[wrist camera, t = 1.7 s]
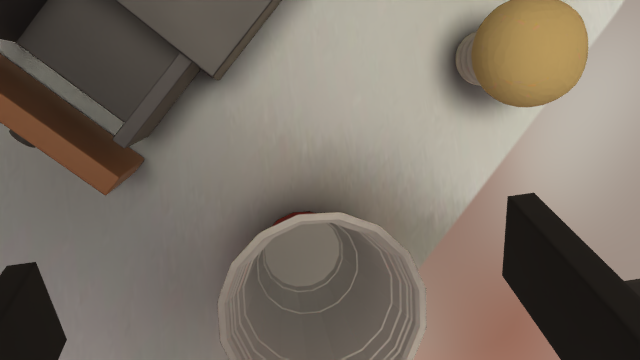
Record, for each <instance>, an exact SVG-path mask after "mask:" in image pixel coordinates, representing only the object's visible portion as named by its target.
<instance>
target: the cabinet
mask: <svg viewBox="0 0 640 360" xmlns="http://www.w3.org/2000/svg"><path fill="white" fill-rule="evenodd" d="M115 1H116V2H117V3H119V4H120V5H121V6H122V7H124V8H125V9H126V10H127V11H129V12H130V13H131V14H133V15H134V16H135V17H136V18H138V19H139V20H140V21H141V22H143V23H144V24H145V25H146V26H148V27H149V28H150V29H151V30H153V31H154V32H155V33H156V34H158V35H159V36H160V37H162V38H163V39H164V40H165V41H167V42H168V43H169V44H170V45H172V46H173V47H174V48H175V49H177V50H178V51H179V52H180V53H182V54H183V55H184V56H185V57H187V58H188V59H189V60H190V61H192V62H193V63H194V64H196V65H197V66H198V67H199V68H201V69H202V70H203V71H204V72H206V73H207V74H208V75H209V76H211V77H212V78H214V79H216V80H220V79H221V78H222V76H223V75H224V74H225V72H226V71H227V70H228V69H229V67H230V66H231V65H232V63H233V62H234V61H235V60H236V58H237V57H238V56H239V55H240V53H241V52H242V51H243V49H244V48H245V47H246V46H247V44H248V43H249V42H250V40H251V39H252V38H253V37H254V35H255V34H256V33H257V32H258V30H259V29H260V28H261V26H262V25H263V24H264V23H265V21H266V20H267V19H268V17H269V16H270V15H271V14H272V12H273V11H274V10H275V9H276V7H277V6H278V5H279V3H280V2H281V1H282V0H115Z"/></svg>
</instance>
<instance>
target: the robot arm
mask: <svg viewBox="0 0 640 360" xmlns="http://www.w3.org/2000/svg"><path fill="white" fill-rule="evenodd" d="M502 272H503V273H502V276H503V277H504V279H505V280H506V281H507V283H508V284H509V286H510V287H511V289H512V290H513V291H514V293H515V294H516V296H517V297H518V299H519V300H520V302H521V303H522V304H523V306H524V307H525V309H526V310H527V312H528V313H529V314H530V316H531V317H532V319H533V320H534V322H535V323H536V324H537V326H538V327H539V329H540V330H541V332H542V333H543V335H544V336H545V337H546V339H547V340H548V342H549V343H550V345H551V346H552V347H553V349H554V350H555V352H556V353H557V355H558V356H559V358H560V359H561V360H640V279H635V280H629V281H623V280H622V279H621V278H620V277H619V276H618V275H617V274H616V273H615V272H614V271H613V270H612V269H611V268H610V267H609V266H608V265H607V264H606V263H605V262H604V261H603V260H602V259H601V258H600V257H599V256H598V255H597V254H596V253H595V252H594V251H593V250H592V249H591V248H590V247H588V245H586V244H585V243H584V242H583V241H582V240H581V239H580V238H579V237H578V236H577V235H576V234H575V233H574V232H573V231H572V230H571V229H570V228H569V227H568V226H567V225H566V224H565V223H564V222H563V221H562V220H561V219H560V218H559V217H558V216H557V215H556V214H555V213H554V212H553V211H552V210H551V209H550V208H549V207H548V206H547V205H545V203H544V202H543V201H542V200H541V199H540V198H539V197H538V196H537V195H535V193H530V194H522V195H515V196H508V201H507V215H506V229H505V243H504V258H503V271H502ZM66 340H67V339H66V336H65V334H64V331H63V329H62V326H61V324H60V321H59V319H58V316H57V314H56V311H55V309H54V306H53V304H52V301H51V299H50V296H49V294H48V291H47V289H46V286H45V284H44V281H43V279H42V276H41V274H40V271H39V269H38V266H37V264H36V262H32V263H25V264H18V265H11V266H6V268H5V269H4V271H3V272H2V274H1V275H0V360H58V358H59V356H60V354H61V352H62V349H63V347H64V345H65V342H66Z"/></svg>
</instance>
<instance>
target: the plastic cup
mask: <svg viewBox="0 0 640 360" xmlns="http://www.w3.org/2000/svg"><path fill="white" fill-rule="evenodd" d="M217 306H218V319H219V333H220V343H221V344H222V346H223V348H224V350H225V352H226V354H227V356H228V358H229V359H230V360H413V359H414V357H415V354H416V352H417V349H418V347H419V344H420V342H421V339H422V337H423V335H424V332H425V330H426V288H425V286H424V283H423V281H422V279H421V277H420V274H419V272H418V270H417V268H416V266H415V263H414V261H413V259H412V257H411V254H410V253H409V252H408V251H407V250H406V249H405V248H404V247H403V246H402V245H401V244H399V243H398V242H397V241H396V240H395V239H394V238H393V237H392V236H391V235H389V234H388V233H387V232H386V231H385V230H384V229H383V228H382V227H381V226H379V225H376V224H373V223H370V222H367V221H364V220H362V219H359V218H356V217H353V216H350V215H347V214H344V213H341V212H335V213H313V212H310V211H309V212H295V213H291V214H289V215H287V216H285V217H283V218H281V219H279V220H277V221H276V222H275V223H274V225H273V226H272V227H271V228H268V229H266V230H264V231H262V232H260V233H259V234H258V235H257V236H256V237H255V238H254V239H253V240H252V241H251V242H250V243H249V245H248V246H247V247H246V248H245V249H244V250H243V251H242V252H241V253H240V254H239V255H238V257H237V258H236V259H235V260H234V261H233V262H232V263H231V265H230V268H229V270H228V273H227V276H226V279H225V282H224V285H223V287H222V290H221V293H220V296H219V299H218V302H217Z"/></svg>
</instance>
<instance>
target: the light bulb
mask: <svg viewBox="0 0 640 360" xmlns="http://www.w3.org/2000/svg"><path fill="white" fill-rule="evenodd" d="M587 56H588V36H587V31H586V28H585V25H584V22H583V20H582V18H581V16H580V15H579V14H578V12H577V11H575V10H574V9H573V8H572V7H571V6H569V5H568V4H566V3H564V2H562V1H560V0H510V1H508V2H506V3H504V4H502V5H500V6H499V7H497V8H496V9H495V10H493V11H492V12H491V13H490V14H489V15H488V16H487V17H486V18H485V20H484V21H483V23H482V24H481V25H480V27H479V29H478V31H477V32H474V33H472V34H470V35H468V36H467V37H465V38H464V39H463V41H462V42H461V44H460V45H459V47H458V49H457V52H456V66H457V70H458V72H459V74H460V75H461V76H462V78H463V79H465V80H466V81H467V82H469V83H471V84H474V85H481V86H482V88H483V89H484V90H485V91H486V92H487V93H488V94H489V95H490V96H492V97H493V98H494V99H496V100H498V101H500V102H502V103H504V104H507V105H512V106H516V107H534V106H539V105H544V104H546V103H549V102H552V101H554V100H556V99H558V98H560V97H561V96H563V95H564V94H566V93H567V92H568V91H570V89H572V88H573V87H574V86H575V85H576V83H577V82H578V80H579V79H580V77H581V75H582V73H583V71H584V68H585V65H586V61H587Z"/></svg>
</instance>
